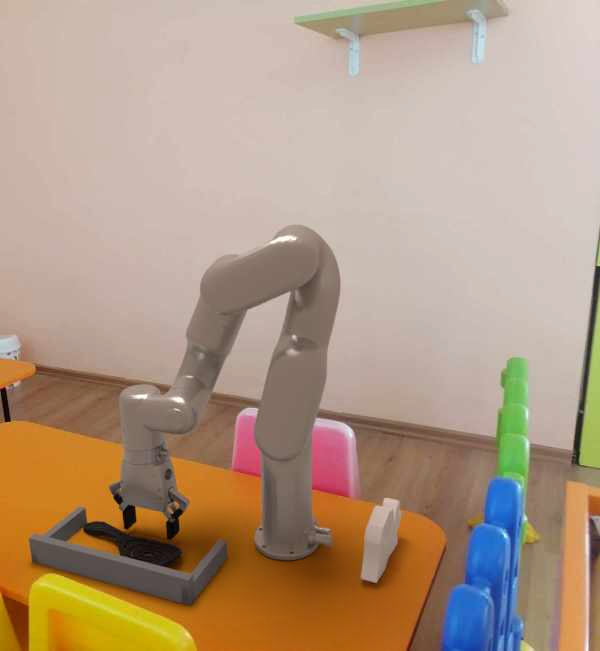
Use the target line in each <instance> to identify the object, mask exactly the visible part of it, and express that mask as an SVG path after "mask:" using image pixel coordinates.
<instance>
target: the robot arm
mask: <svg viewBox="0 0 600 651" xmlns="http://www.w3.org/2000/svg"><path fill="white" fill-rule="evenodd" d="M339 267H340V266H339V265H338V261H337V259H336V256H335V254H334V251H333V250H332V248H331V247H330V245H329V244H328V242H326V241H325V239H324V238H323V237H322V236H321V235H320V233H317V232H316V231H315V230H314V229H312V228H310V227H308V226H306V225H302V224H289V225H288V226H284V227H283V228H281V229H280V230H279V231H278V232H277V233H276V234H275V235H274V236H273V238H272V239H271V240H269V241H267V242H265V243H263V244H260V245H258V246H256V247H255V248H253V249H250V250H248V251H247V252H244V253H242V254H235V253H234V254H232V253H230V254H224V255H222V256H220V257H218V258H217V259H215V260H214V261H213V263H212V264H211V265H210V266H209V267H208V268H207V269H206V270H205V272H203V275H202V277H201V279H200V283H199V298H198V300H197V303H196V306H195V308H194V311H193V313H192V315H191V318H190V321H189V323H188V326H187V329H186V332H185V337H186V338H185V339H186V340H187V341H186V342H187V345H186V350H185V353H184V356H183V358H182V361H181V364H180V367H179V368H178V372H177V374H176V376H175V379H174V381H173V383H172V385H171V387H170V388H169V389H168V391H167V392H166V393H164V394H162V393H161V390H160V389H159V388H158V387H156V386H155V385H151V384H146V383H145V384H144V383H141V384H136V385H135V384H134V385H131V386H128V387H126V388H124V389H123V390H122V391H121V392H120V394H119V399H118V401H119V402H118V405H119V415H120V426H121V427H120V428H121V434H122V436H121V437H122V446H123V456H122V457H121V462H120V463H121V464H120V477H119V478H120V480H117V481H115V482H113V483H111V484H110V485H109V486H108V488H109V491H110V493H111V495H112V497H113V500H114V501H115V503H116V504H117V505H118V509H119V510H120V511H122V512H121V514H122V521H123V529H124V530H125V531H126V530H129V529H130V528H132V527H133V526H134V525H135V524H136V523H137V512H136V511H137V510H136V507H137V508H141V509H146V510H151V511H155V512H160V513H162V514H163V515H164V516H165V518H166V519H167V520H166V522H165V530H166V531H165V532H166V540H167V541H169V539H170V542H171V541H173V539H174V538H175V537H176V536H177V535H178V534H179V532H180V517H181V516H182V515H183V514H184V513H185V512H186V511H187V509H188V507H189V505H190V502H191V501H190V499H189V498H188V497H186V496H185V495H184V494H182V493H181V492H179V491H178V485H177V484H178V483H177V478H176V472H175V467H174V465H173V461H172V459H171V453H172V452H171V451H172V450H171V449H168V448H167V447H166V446H167V444H166V438H165V436H166V434H169V435H176V436H183V435H188V434H190V433H192V431H194V430H195V429H196V428H197V426H198V424H199V423H200V420H201V418H202V416H203V413H204V412H205V409H206V408H207V406H208V403H209V401H210V399H211V396H212V394H213V391H214V389H215V386H216V385H217V384H216V383H217V381H218V379H219V377H220V374H221V371H222V369H223V366H224V365H225V362H226V359H227V358H228V356H229V355H231V352H232V349H233V347H234V344H235V343H236V342H235V341H236V339H237V337H238V335H239V331H240V329H241V327H242V324H243V322H244V321H245V317H246V315H247V312H248V311H249V310H251V309H253V308H256V307H258V306H261V305H262V304H265V303H267V302H269V301H272V300H274V299H276V298H279V297H280V296H283V295H285V294H288V293H289V298H288V302H287V306H286V309H285V310H286V311H285V316H284V320H283V323H282V327H281V330H280V334H279V338H278V340H277V343H276V345H275V347H274V349H273V352H272V356H271V358H270V361H269V366H268V368H267V373H266V377H265V382H264V386H263V390H262V394H261V398H260V401H259V406H258V410H257V414H256V417H255V422H254V426H253V438H254V442H255V444H256V447H257V448H258V450H259V452H260V488H261V489H260V490H261V491H260V492H261V495H260V496H261V524H260V525H259V526H258V528H257V529H256V530H255V533H254V545H255V547H256V549H257V550H258V551H259V553H261V554H263V555H264V556H265V557H268V558H271V559H274V560H279V561H280V560H281V561H293V560H295V561H296V560H298V559H302V558H307V557H308V556H309V555H311V554H313V553H314V552H316V550H317V549H318V548H319V546H320V545H321V546H326V547H332V546H333V542H334V536H333V535H331V528H330V527H323V526H320V525H319V524H318V517H317V516H314V515H313V432H314V427H315V424H316V421H317V420H316V419H317V416H318V412H319V409H320V407H321V402H322V398H323V395H324V390H325V387H326V382H327V376H328V374H327V373H328V352H329V351H328V350H329V345H330V340H331V337H332V333H333V329H334V326H335V320H336V315H337V311H338V307H339V302H340V296H341V286H342V285H341V275H340V274H341V272H340V268H339ZM175 502H176V503H177V504H178V505H177V504H176V503H175ZM169 508H170V509H169ZM171 511H172V512H173V513H172V512H171Z"/></svg>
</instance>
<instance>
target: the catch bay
mask: <svg viewBox="0 0 600 651" xmlns="http://www.w3.org/2000/svg"><path fill="white" fill-rule="evenodd" d="M87 523H88V518H87V508H86V507H83V506H78V507H77V508H76V509H74V510H73V511H72V512H70V513H69V514H67V515H66V516H65V517H64V518H63V519H61V520H60V521H59V522H58V523H56V524H55V525H53V526H52V527H51V528H50V529H49V530H48V531H46V532H45V533H43V534H40V533H39V534H38V533H33V534H32V535H31V536H29V537H28V543H29V549H30V557H31V562H32V563H34V564H35V563H36V564H39V565H42V566H46V567H49V568H53V569H57V570H60V571H64V572H69V573H71V574H75V575H79V576H82V577H86V578H90V579H92V580H96V581H100V582H104V583H107V584H111V585H113V586H118V587H122V588H125V589H129V590H131V591H136V592H139V593H143V594H147V595H150V596H154V597H157V598H161V599H165V600H168V601H172V602H175V603H180V604H182V605H186V606H191V605H192V604H193V603H194V601H195V600H196V599H197V598H198V596H200V594H201V592H202V591H203V590H204V588H205V587H206V586H207V585H208V583H209V582H210V581H211V579H212V578H213V577H215V576H214V575H215V574H216V573H217V572H218V571H219V569H220V568H221V567H222V565H223V564H224V562H225V561H226V560H227V559H228V541H227V540H225V539H221V538H219V539H218V540H217V541H216V543H215V544H214V545H213V546H212V547H211V549H210V550H209V551H208V553H206V555H205V556H204V558H202V560H201V561H200V562H199V563H198V565H197V566H196V567H195V568H194V569H193V571H192V572H191V573H189V572H185V571H181V570H177V569H173V568H171V567H167V566H166V567H162V566H158V565H155V564H151V563H147V562H143V561H139V560H135V559H131V558H128V557H124V556H121V555H119V554H117V553H116V554H115V553H112V552H107V551H104V550H100V549H96V548H92V547H89V546H85V545H81V544H76V543H72V542H69V541H68V540H69V539H70V538H72V536H74V535H75V534H76V533H77V532H79V531H80V530H81V529H82V528H84V525H85V524H87ZM79 529H80V530H79Z"/></svg>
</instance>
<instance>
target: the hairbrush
mask: <svg viewBox="0 0 600 651" xmlns="http://www.w3.org/2000/svg"><path fill="white" fill-rule="evenodd" d="M83 532H84V533H87V534H94V535H103V536H105V537H108V538H110V539H113V540H115V541H116V543H117V546H118V550H119V554H120V556H124V557H128V558H131V559H135V560H139V561H143V562H147V563H151V564H155V565H158V566H162V567H166V568H167V566H170V565H172V564H173V563H174V562H176V561H177V560H179V559H180V558H181V555H182V548H181V547H180V544H179V542H176V545H177V546H176V545H174V544H171V543H172V542H173V540H171V541H170V539H169V540H168V542H164V541H162V540H161V539H160V536H158V535H156V538H159V540H156V539H153V537H154V536H155V535H152V538H150V537H151V534H149V536H148V538H147V537H146V536H147V535H144V537H142V536H140V537H139V536H138V535H137V536H135V535H131V532H128V533H127V532H124V531H122V530H121V529H118V528H117V527H115V526H113V525H112V524H109V523H107V522H105V521H99V520H96V521H91V522H87V524H85V525H84V526H83ZM134 533H135V532H134V531H133V534H134ZM162 539H163V540H166V537H162ZM160 540H161V541H160ZM170 542H171V543H170Z"/></svg>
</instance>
